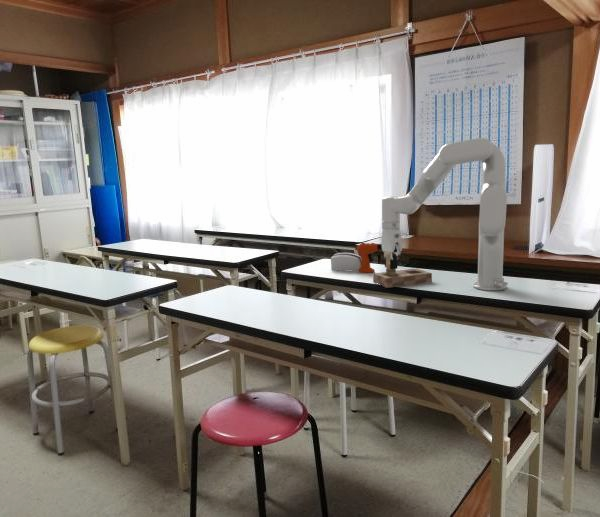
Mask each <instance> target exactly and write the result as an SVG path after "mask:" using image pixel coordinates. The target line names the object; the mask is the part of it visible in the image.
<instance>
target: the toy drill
mask: <svg viewBox="0 0 600 517" xmlns="http://www.w3.org/2000/svg"><path fill="white" fill-rule="evenodd" d="M380 250H382V243H375V242H371V243H369V242H368V243H367V242H361V243H360V244H359V245H358V246H357V247H356V253H358V254H359V256H361V260H362V263H361V268H359V271H358V273H359V272H360V273H359V274H373V273H372V272H374V273H376V272H375V269H374V268H372V267H371V263H372V262H373V261H374V258H373V257H372V255H371V254H373V253H375V252H377V251H380Z"/></svg>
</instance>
